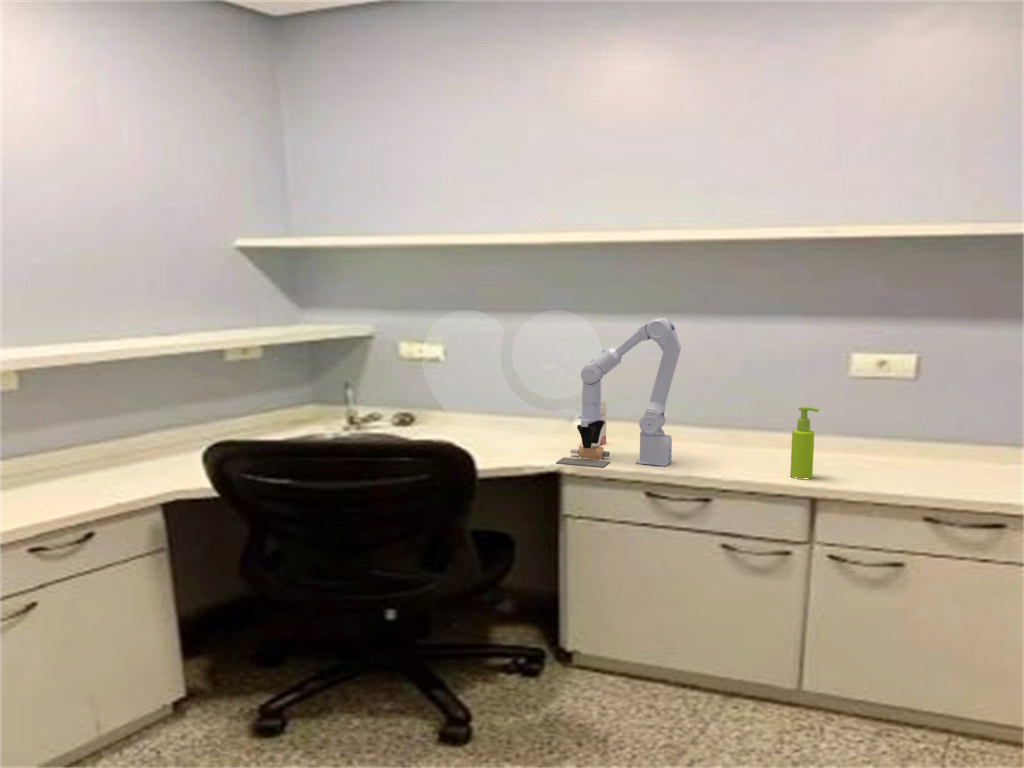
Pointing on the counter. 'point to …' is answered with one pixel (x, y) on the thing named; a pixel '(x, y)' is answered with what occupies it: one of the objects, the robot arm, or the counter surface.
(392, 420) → the counter surface
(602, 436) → the ink cartridge box
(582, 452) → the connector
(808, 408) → the soap dispenser
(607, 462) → the mat
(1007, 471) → the counter surface
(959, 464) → the counter surface
